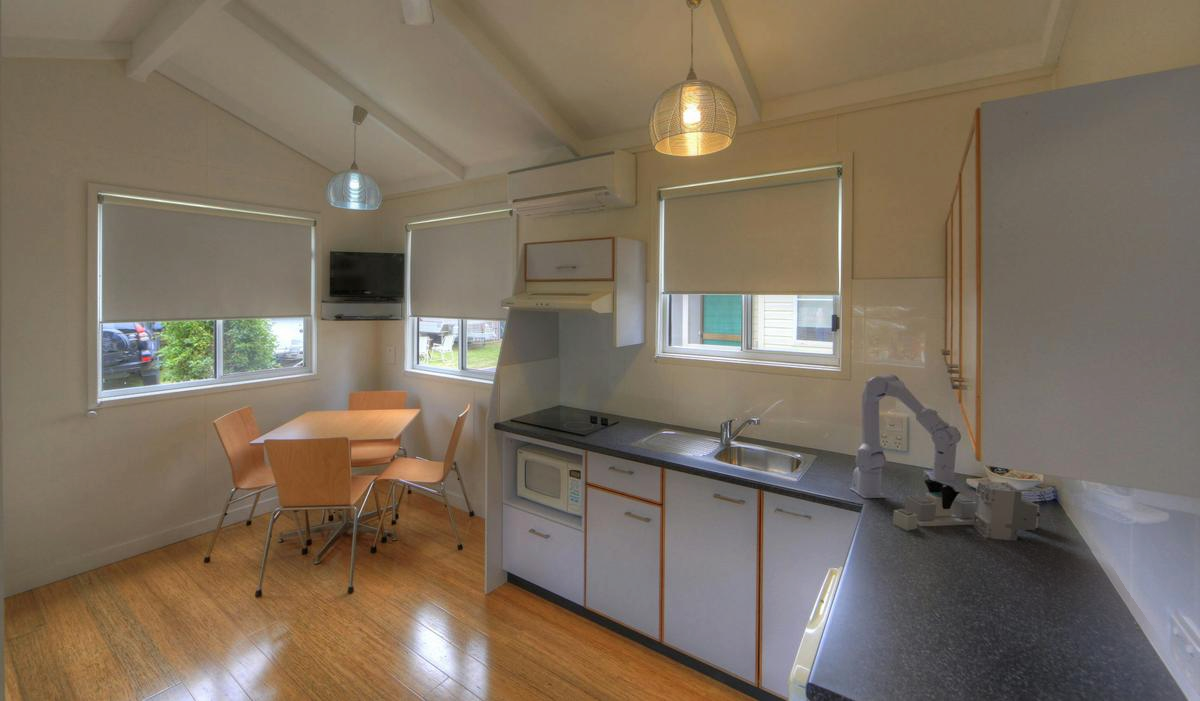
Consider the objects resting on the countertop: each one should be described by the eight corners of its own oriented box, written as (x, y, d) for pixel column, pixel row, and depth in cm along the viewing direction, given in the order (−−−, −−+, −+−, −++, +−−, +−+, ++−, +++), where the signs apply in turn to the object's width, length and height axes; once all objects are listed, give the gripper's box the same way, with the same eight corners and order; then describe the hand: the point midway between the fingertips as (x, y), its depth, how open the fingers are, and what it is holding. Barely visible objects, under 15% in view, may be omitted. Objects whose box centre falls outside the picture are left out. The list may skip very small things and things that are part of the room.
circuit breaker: (1040, 543, 153) (1045, 493, 152) (985, 537, 156) (990, 489, 154) (1025, 531, 160) (1030, 484, 159) (973, 527, 163) (977, 480, 162)
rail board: (901, 514, 172) (902, 494, 171) (957, 512, 174) (958, 492, 174) (920, 526, 163) (922, 505, 163) (979, 524, 165) (981, 503, 165)
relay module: (924, 510, 170) (925, 492, 170) (941, 509, 171) (942, 491, 170) (934, 516, 166) (935, 497, 165) (952, 515, 167) (953, 496, 166)
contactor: (892, 524, 165) (893, 509, 164) (901, 522, 166) (903, 507, 166) (907, 530, 160) (908, 515, 160) (916, 528, 162) (917, 513, 161)
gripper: (916, 457, 174) (913, 497, 175) (949, 472, 159) (946, 515, 161) (936, 457, 174) (932, 496, 176) (971, 471, 160) (967, 514, 161)
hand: (940, 505), depth 168 cm, fingers closed on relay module, 4 cm apart
